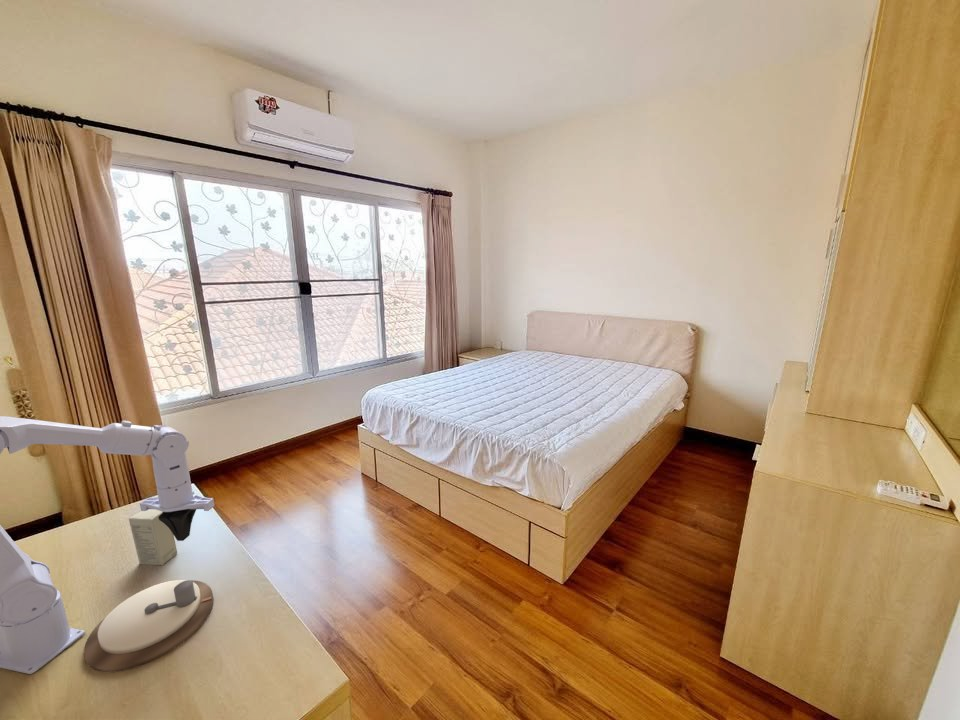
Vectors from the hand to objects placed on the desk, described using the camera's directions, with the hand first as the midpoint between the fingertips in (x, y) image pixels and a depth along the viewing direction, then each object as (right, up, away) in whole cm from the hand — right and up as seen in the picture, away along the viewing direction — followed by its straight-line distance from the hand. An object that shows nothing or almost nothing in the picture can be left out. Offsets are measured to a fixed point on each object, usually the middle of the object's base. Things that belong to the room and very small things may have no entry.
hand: (183, 537), depth 85 cm
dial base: (+2, -12, -10) cm, 16 cm away
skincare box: (-11, -8, +7) cm, 16 cm away
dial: (+2, -10, -11) cm, 15 cm away
